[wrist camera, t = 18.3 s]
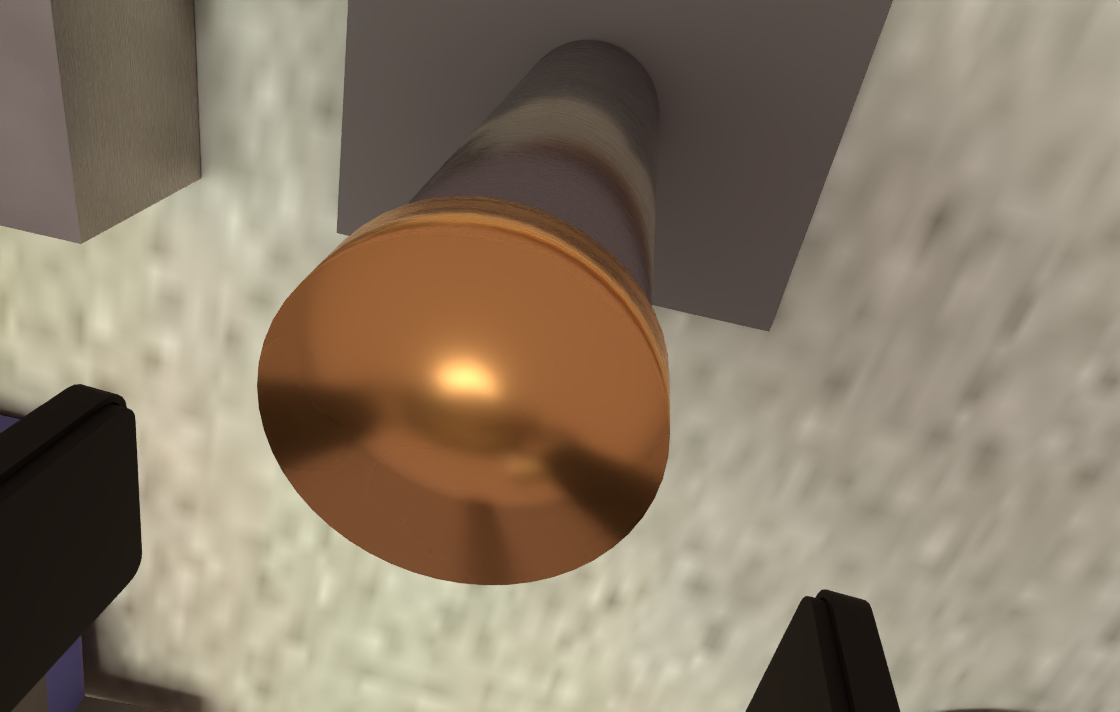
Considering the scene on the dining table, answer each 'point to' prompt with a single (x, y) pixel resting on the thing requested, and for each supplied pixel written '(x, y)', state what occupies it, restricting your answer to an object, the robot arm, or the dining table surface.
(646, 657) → the dining table surface
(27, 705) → the toy
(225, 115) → the dining table surface
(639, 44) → the mat
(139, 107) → the block
